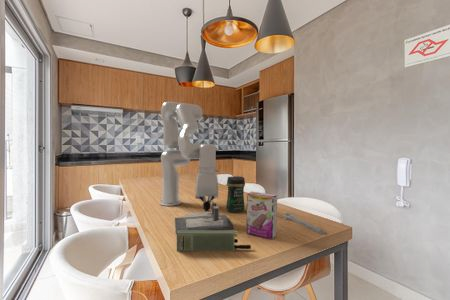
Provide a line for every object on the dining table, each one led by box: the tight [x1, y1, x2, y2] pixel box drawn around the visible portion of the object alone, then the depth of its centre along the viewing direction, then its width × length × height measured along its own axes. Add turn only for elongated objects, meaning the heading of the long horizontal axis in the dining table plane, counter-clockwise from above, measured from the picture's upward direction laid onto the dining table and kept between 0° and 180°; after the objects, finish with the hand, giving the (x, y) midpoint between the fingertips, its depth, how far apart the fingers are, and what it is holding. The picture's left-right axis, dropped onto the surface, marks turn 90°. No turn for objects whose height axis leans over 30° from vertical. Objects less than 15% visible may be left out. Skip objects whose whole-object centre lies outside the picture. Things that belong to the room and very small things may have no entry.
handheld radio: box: [176, 230, 252, 252], centre depth 75 cm, size 7×3×25 cm
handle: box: [213, 205, 220, 221], centre depth 95 cm, size 2×2×6 cm
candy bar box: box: [245, 191, 278, 240], centre depth 88 cm, size 11×5×16 cm, turn 59°
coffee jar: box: [225, 175, 246, 213], centre depth 120 cm, size 10×8×19 cm
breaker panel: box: [174, 211, 235, 235], centre depth 98 cm, size 15×24×4 cm, turn 104°
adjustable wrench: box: [281, 212, 326, 235], centre depth 101 cm, size 25×6×2 cm, turn 19°
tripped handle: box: [211, 200, 218, 215], centre depth 103 cm, size 2×2×6 cm
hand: (206, 210), depth 103 cm, fingers closed
